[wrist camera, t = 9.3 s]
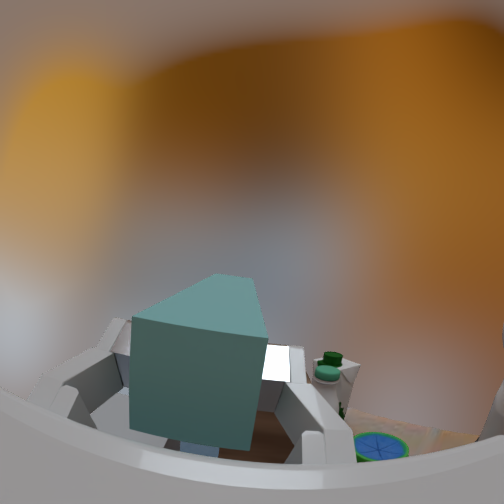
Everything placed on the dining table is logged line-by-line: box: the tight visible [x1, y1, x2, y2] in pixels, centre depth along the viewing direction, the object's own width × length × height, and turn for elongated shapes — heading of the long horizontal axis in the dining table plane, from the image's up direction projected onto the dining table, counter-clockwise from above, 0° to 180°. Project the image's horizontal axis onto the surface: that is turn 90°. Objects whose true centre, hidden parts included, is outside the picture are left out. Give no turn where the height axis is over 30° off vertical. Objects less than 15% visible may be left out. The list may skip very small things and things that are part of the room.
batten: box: [129, 274, 268, 451], centre depth 18 cm, size 22×4×4 cm, turn 1°
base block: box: [90, 393, 180, 451], centre depth 30 cm, size 14×10×16 cm
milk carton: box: [312, 352, 361, 420], centre depth 61 cm, size 9×9×20 cm
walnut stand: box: [218, 372, 312, 464], centre depth 32 cm, size 16×8×26 cm, turn 0°
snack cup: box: [353, 432, 409, 463], centre depth 39 cm, size 16×10×10 cm
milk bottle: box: [313, 365, 341, 414], centre depth 50 cm, size 8×8×20 cm
